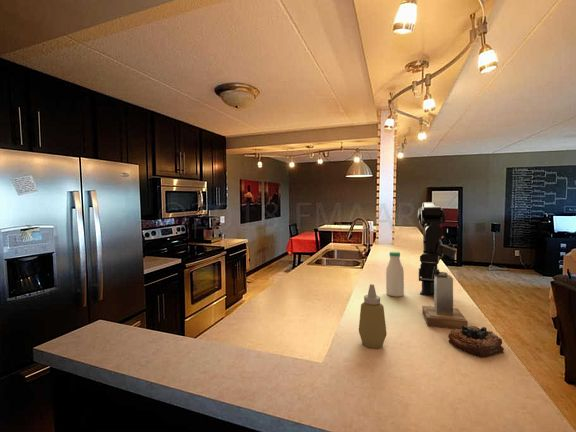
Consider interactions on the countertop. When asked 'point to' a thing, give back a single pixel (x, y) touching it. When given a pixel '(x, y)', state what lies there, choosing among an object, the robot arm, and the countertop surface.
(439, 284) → the housing
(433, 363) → the countertop surface
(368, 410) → the countertop surface
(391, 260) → the milk bottle
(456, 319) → the stand
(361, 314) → the squeeze bottle
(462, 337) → the pastry
